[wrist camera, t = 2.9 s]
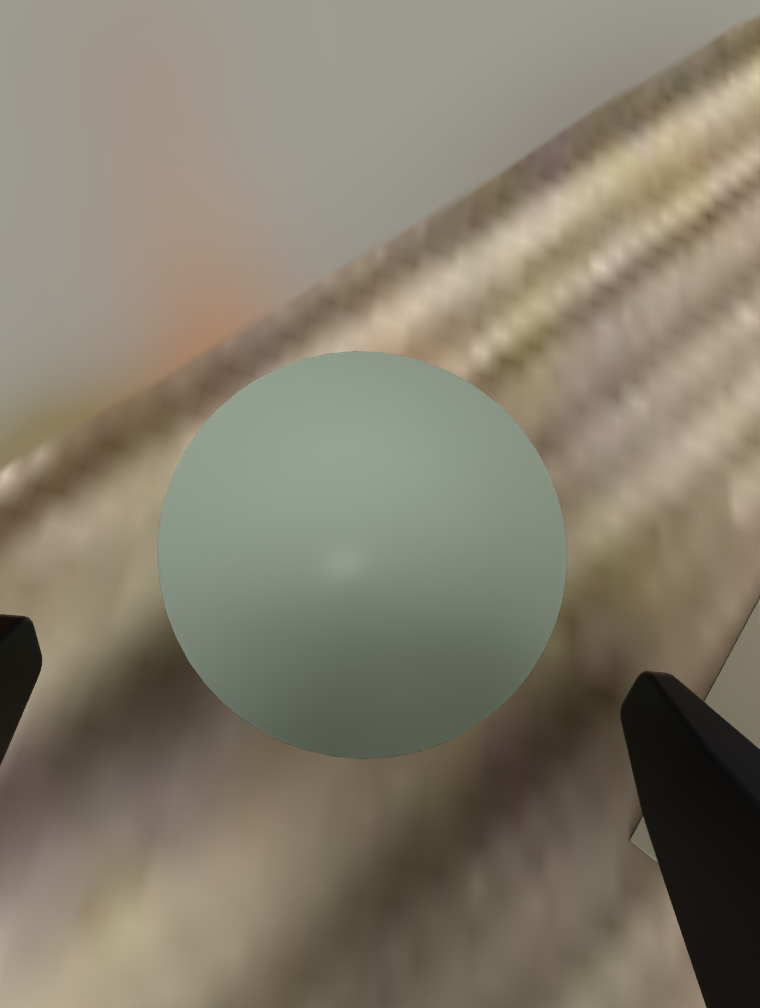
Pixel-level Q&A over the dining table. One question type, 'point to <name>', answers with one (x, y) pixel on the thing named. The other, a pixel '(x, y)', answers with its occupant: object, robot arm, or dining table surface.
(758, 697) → the stand
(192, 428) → the dining table surface
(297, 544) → the ball
